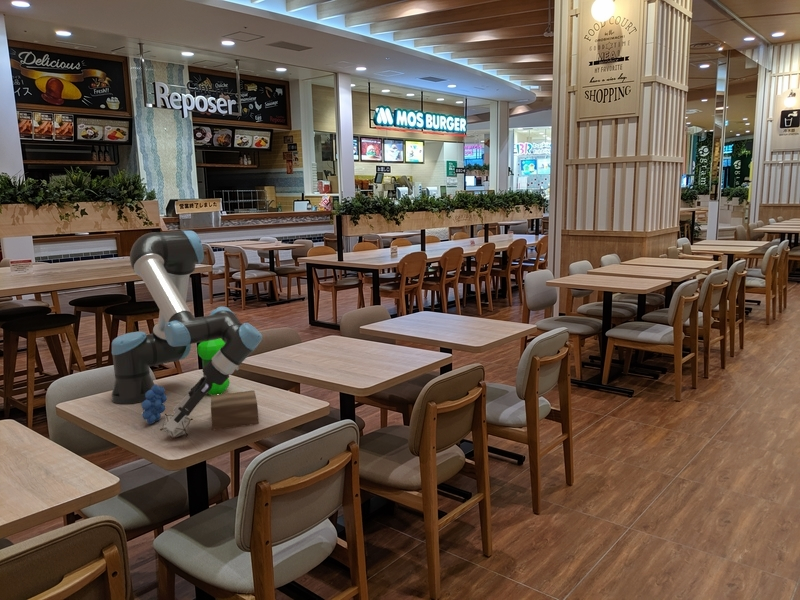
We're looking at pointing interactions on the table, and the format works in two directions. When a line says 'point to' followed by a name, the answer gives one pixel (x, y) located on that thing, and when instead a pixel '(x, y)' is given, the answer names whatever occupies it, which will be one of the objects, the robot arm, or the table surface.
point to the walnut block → (234, 409)
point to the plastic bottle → (206, 353)
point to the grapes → (154, 404)
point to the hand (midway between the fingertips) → (172, 420)
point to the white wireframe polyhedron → (180, 429)
